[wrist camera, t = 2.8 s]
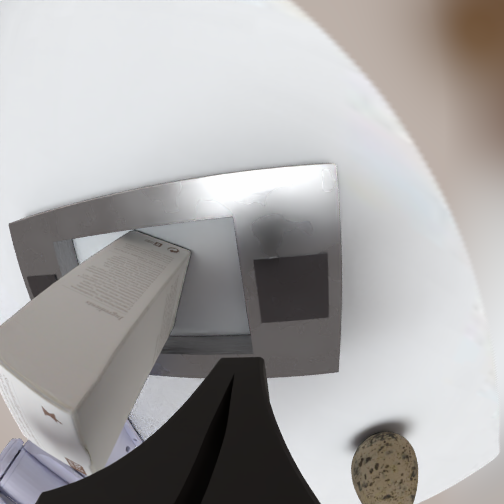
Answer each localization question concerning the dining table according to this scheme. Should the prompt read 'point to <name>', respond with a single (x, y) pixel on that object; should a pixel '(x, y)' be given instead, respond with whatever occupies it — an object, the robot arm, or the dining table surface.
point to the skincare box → (91, 347)
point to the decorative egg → (385, 470)
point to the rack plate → (250, 257)
